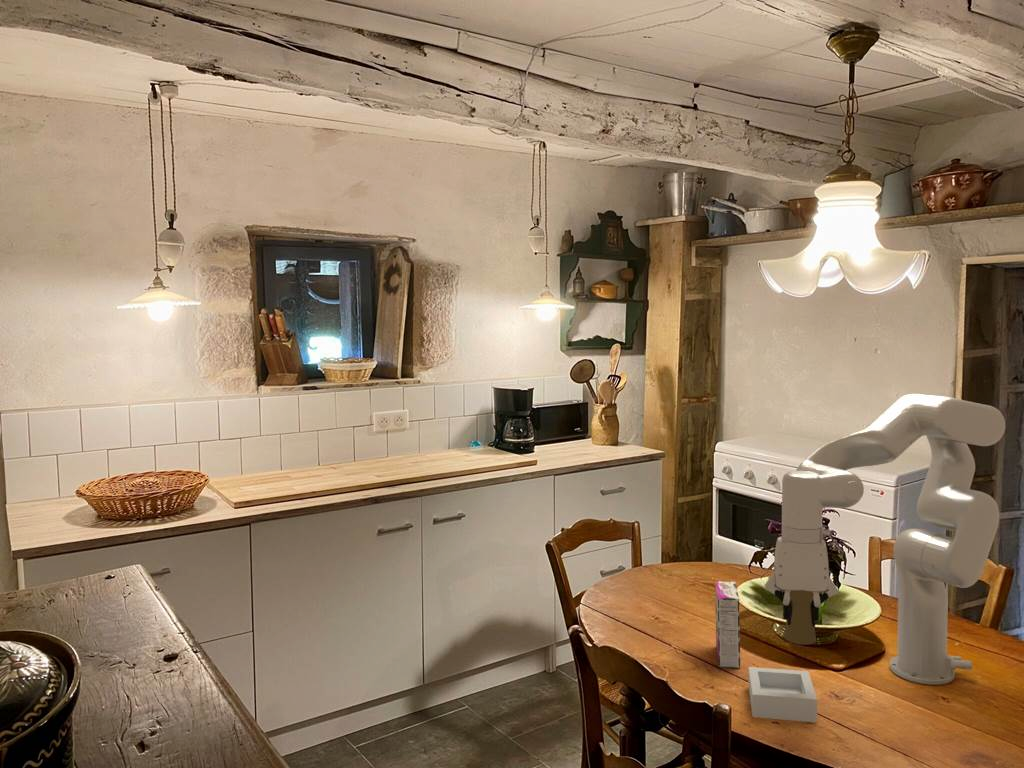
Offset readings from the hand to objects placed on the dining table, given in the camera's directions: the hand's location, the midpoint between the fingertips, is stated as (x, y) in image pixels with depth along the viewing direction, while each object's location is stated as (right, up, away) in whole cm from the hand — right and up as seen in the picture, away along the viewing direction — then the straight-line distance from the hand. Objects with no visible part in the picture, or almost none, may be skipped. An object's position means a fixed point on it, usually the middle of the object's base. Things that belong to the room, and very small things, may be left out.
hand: (800, 622), depth 154 cm
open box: (-3, -18, +3) cm, 18 cm away
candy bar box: (-8, -16, +24) cm, 30 cm away
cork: (0, -3, 0) cm, 3 cm away
